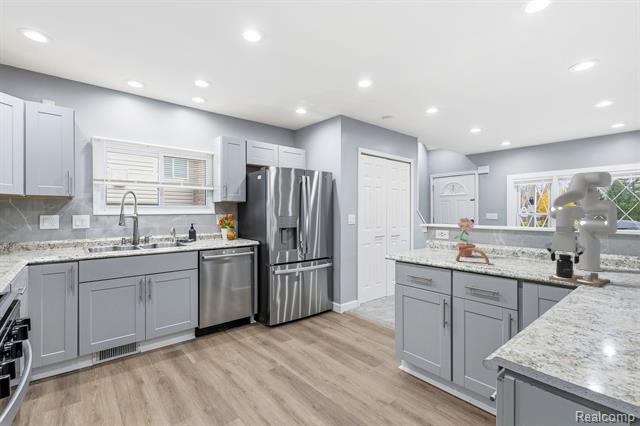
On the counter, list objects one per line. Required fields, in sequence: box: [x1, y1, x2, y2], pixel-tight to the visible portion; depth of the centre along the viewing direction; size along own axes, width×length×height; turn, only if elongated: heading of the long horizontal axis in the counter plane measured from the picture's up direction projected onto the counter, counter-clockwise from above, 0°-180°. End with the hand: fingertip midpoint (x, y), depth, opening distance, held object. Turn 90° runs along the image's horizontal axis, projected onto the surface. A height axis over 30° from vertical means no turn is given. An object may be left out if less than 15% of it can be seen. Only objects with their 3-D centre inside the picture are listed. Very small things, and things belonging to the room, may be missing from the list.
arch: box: [455, 247, 490, 265], centre depth 208 cm, size 6×20×10 cm, turn 51°
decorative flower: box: [454, 217, 476, 258], centre depth 235 cm, size 15×14×30 cm
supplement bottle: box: [555, 253, 574, 278], centre depth 159 cm, size 7×7×12 cm
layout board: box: [548, 269, 611, 288], centre depth 157 cm, size 19×20×4 cm
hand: (564, 262), depth 159 cm, fingers open, 9 cm apart
